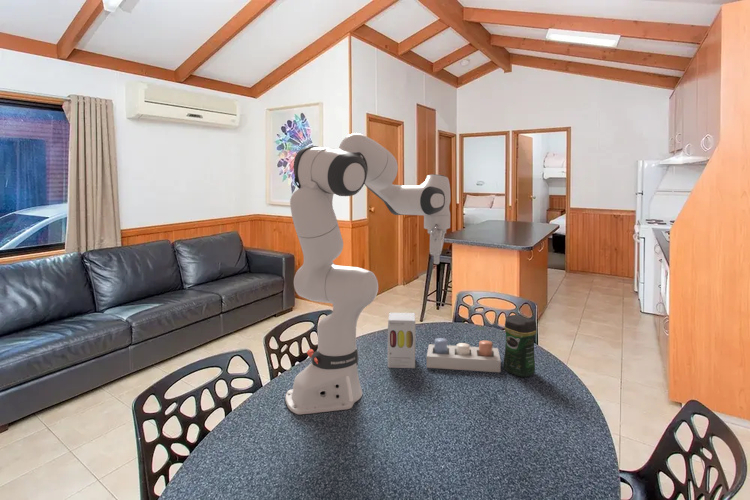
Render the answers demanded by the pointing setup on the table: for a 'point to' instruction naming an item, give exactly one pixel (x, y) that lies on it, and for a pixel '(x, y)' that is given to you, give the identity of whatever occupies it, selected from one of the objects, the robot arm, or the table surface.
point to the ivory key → (463, 349)
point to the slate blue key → (440, 346)
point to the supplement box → (401, 340)
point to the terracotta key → (485, 348)
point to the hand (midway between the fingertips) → (436, 263)
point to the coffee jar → (519, 346)
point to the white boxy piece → (463, 360)
